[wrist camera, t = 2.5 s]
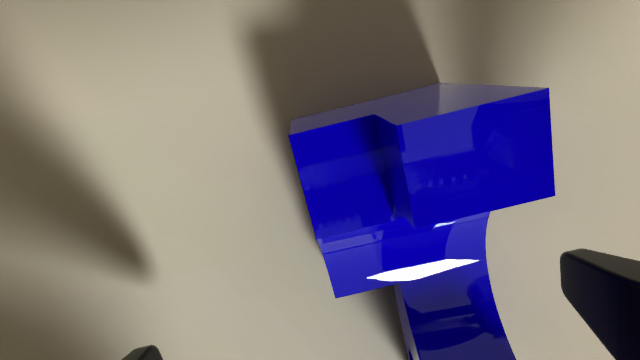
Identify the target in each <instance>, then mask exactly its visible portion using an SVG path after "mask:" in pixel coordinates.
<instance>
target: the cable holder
mask: <svg viewBox="0 0 640 360" xmlns="http://www.w3.org/2000/svg"><path fill="white" fill-rule="evenodd" d="M288 136H289V140H290V143H291V147H292V151H293V155H294V158H295V162H296V166H297V169H298V173H299V177H300V181H301V184H302V188H303V192H304V196H305V199H306V203H307V207H308V211H309V214H310V218H311V222H312V226H313V229H314V233H315V237H316V240H317V242H318V244H319V246H320V249H321V252H322V254H323V257H324V260H325V263H326V266H327V270H328V273H329V277H330V280H331V284H332V287H333V291H334V295H335V298H339V297H344V296H348V295H352V294H356V293H360V292H365V291H369V290H373V289H377V288H382V287H386V286H390V285H393V287H394V292H395V297H396V301H397V306H398V311H399V316H400V321H401V325H402V330H403V335H404V340H405V344H406V349H407V354H408V359H409V360H516V358H515V356H514V354H513V352H512V349H511V347H510V344H509V342H508V339H507V337H506V334H505V331H504V329H503V326H502V323H501V320H500V317H499V314H498V311H497V308H496V304H495V301H494V297H493V293H492V289H491V285H490V280H489V275H488V269H487V261H486V249H485V237H486V227H487V221H488V217H489V214H490V211H493V210H498V209H502V208H506V207H510V206H514V205H519V204H523V203H527V202H531V201H535V200H539V199H544V198H548V197H552V196H555V185H554V168H553V151H552V134H551V117H550V99H549V88H540V87H518V86H496V85H474V84H452V83H438V84H434V85H430V86H426V87H422V88H418V89H414V90H410V91H406V92H402V93H398V94H394V95H390V96H386V97H382V98H377V99H373V100H369V101H365V102H361V103H357V104H353V105H349V106H345V107H341V108H337V109H333V110H329V111H325V112H321V113H317V114H313V115H309V116H305V117H301V118H297V119H293V120H292V123H291V127H290V131H289V135H288Z"/></svg>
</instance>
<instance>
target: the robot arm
mask: <svg viewBox="0 0 640 360" xmlns="http://www.w3.org/2000/svg"><path fill="white" fill-rule="evenodd" d="M560 273H561V287H562V291H563V293H564V295H565V297H566V298H567V299H568V301H569V302H570V303H571V304H572V306H573V307H574V308H575V310H576V311H577V312H578V313H579V315H580V316H581V317H582V318H583V320H584V321H585V322H586V323H587V325H588V326H589V327H590V328H591V330H592V331H593V332H594V333H595V335H596V336H597V337H598V339H599V340H600V341H601V342H602V344H603V345H604V346H605V347H606V349H607V350H608V351H609V352H610V353H611V355H612V356H613V357H614V358H615V359H616V360H640V261H637V260H632V259H628V258H623V257H619V256H614V255H610V254H605V253H601V252H596V251H592V250H587V249H576V250H572V251H567V252H564V253H563V254H562V255H561V257H560ZM122 360H163V359H162V356H161V354H160V352H159V350H158V348H157V347H156V346H154V345H149V346H145V347H140V348H137V349H134V350H133V351H132V352H130V353H129V354H128V355H127V356H125V357H124V358H123V359H122Z"/></svg>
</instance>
